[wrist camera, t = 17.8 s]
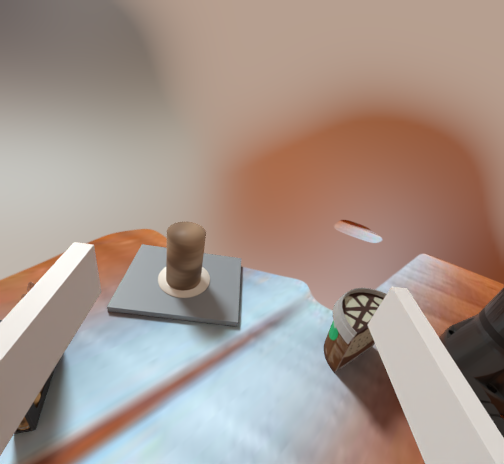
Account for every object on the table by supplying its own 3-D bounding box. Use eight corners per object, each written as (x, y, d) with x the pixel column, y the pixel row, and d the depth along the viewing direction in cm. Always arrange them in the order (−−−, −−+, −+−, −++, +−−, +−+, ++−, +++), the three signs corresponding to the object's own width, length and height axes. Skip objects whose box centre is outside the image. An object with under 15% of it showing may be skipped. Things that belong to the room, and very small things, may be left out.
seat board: (240, 262, 58) (241, 257, 57) (237, 326, 45) (238, 321, 44) (142, 248, 56) (142, 243, 55) (107, 311, 43) (106, 305, 42)
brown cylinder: (202, 268, 52) (207, 224, 47) (198, 292, 47) (203, 245, 42) (169, 265, 52) (171, 219, 46) (162, 288, 47) (163, 240, 41)
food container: (348, 316, 51) (371, 276, 45) (376, 343, 47) (405, 303, 41) (299, 343, 44) (319, 300, 39) (327, 377, 40) (354, 334, 35)
